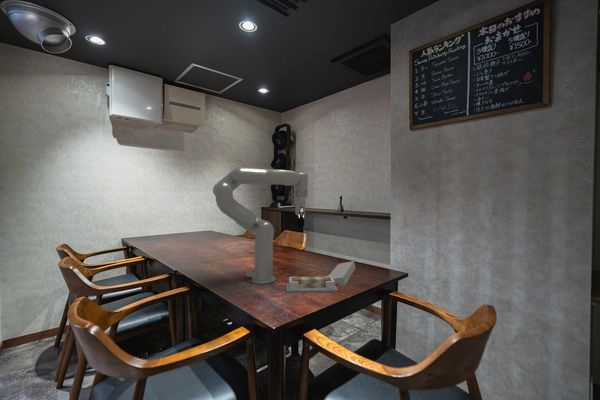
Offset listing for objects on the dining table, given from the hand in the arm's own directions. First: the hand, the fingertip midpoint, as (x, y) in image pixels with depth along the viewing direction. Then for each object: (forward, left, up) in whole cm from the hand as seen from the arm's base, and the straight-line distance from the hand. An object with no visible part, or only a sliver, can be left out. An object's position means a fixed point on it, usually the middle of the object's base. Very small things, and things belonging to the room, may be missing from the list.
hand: (300, 225), depth 147 cm
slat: (+4, -21, -27) cm, 35 cm away
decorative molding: (+24, -1, -29) cm, 37 cm away
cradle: (+4, -21, -28) cm, 35 cm away
